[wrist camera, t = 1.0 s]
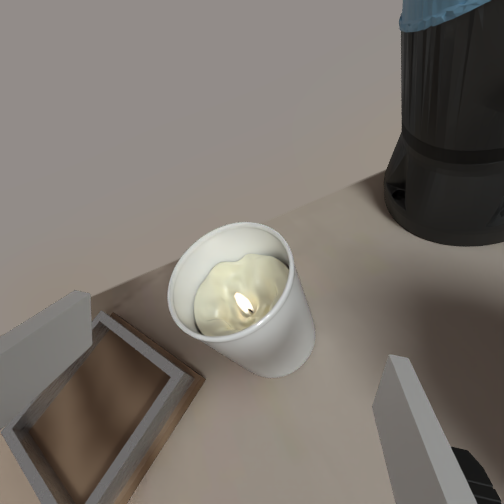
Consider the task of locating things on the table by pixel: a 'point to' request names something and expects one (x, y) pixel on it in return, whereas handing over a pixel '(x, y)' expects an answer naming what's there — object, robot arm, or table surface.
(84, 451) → the walnut plate
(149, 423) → the grey square frame
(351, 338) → the table surface
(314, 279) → the table surface
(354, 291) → the table surface
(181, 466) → the table surface
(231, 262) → the candle holder
